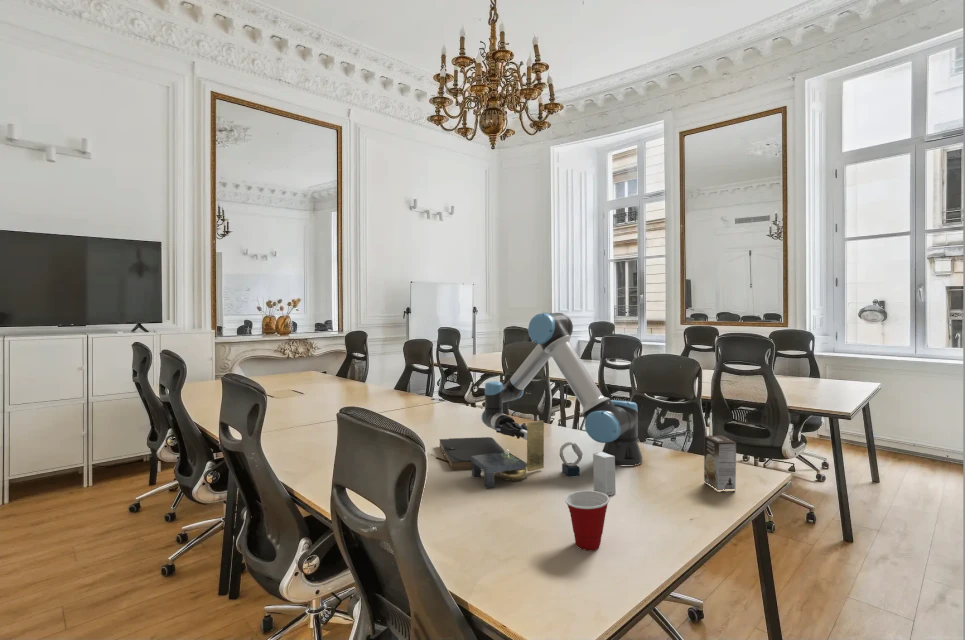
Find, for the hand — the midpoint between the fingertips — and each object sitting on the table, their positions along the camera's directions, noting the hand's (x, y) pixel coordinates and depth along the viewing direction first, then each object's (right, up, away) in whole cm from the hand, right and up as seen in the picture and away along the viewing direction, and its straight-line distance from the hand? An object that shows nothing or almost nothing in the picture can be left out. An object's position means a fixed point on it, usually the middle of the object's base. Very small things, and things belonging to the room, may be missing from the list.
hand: (530, 437), depth 186 cm
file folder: (-21, -12, +18) cm, 30 cm away
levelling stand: (-12, -12, -11) cm, 20 cm away
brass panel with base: (-4, -12, -5) cm, 13 cm away
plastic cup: (+8, -13, -60) cm, 62 cm away
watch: (+14, -12, -5) cm, 19 cm away
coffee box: (+60, -12, -19) cm, 64 cm away
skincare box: (+21, -13, -23) cm, 34 cm away
